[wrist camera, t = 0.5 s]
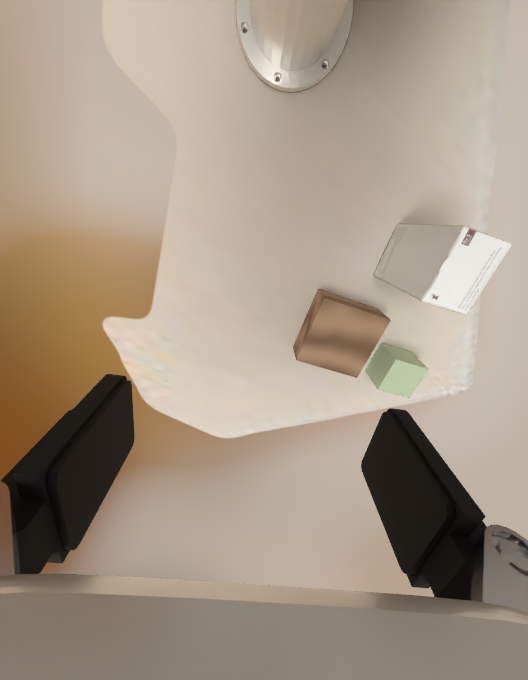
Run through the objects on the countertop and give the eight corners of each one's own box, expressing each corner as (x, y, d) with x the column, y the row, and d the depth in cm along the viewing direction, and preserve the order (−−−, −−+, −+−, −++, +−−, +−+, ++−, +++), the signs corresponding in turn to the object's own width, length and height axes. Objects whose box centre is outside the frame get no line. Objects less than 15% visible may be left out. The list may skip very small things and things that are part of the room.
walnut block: (317, 288, 44) (324, 297, 40) (377, 308, 46) (390, 320, 41) (292, 345, 49) (296, 359, 44) (348, 362, 50) (357, 377, 46)
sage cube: (380, 342, 48) (395, 359, 43) (410, 351, 49) (428, 369, 44) (365, 369, 51) (377, 389, 45) (393, 378, 52) (409, 397, 46)
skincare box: (403, 285, 44) (466, 320, 30) (370, 274, 43) (419, 305, 30) (433, 232, 40) (519, 245, 27) (397, 218, 39) (467, 225, 26)
